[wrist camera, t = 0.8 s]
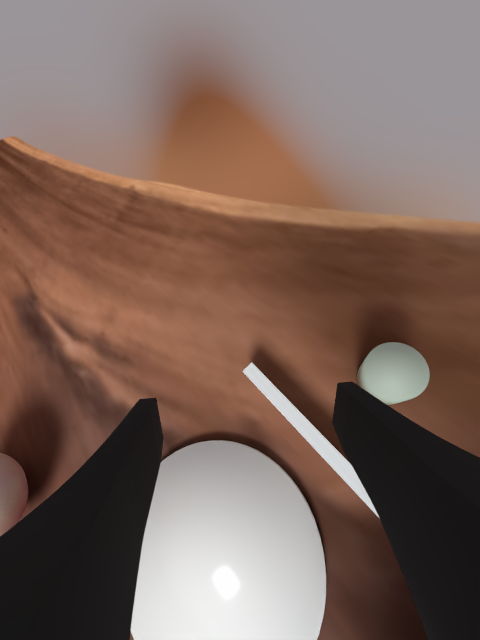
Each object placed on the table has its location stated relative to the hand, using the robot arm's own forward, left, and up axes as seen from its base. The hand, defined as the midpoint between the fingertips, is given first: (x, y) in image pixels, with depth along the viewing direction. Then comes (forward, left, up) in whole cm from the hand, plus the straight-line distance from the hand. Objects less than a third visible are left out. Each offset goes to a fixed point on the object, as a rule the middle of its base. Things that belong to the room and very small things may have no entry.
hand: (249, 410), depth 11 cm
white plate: (-3, +12, -17) cm, 21 cm away
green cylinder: (-3, -9, -17) cm, 19 cm away
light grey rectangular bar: (-3, -1, -17) cm, 17 cm away
